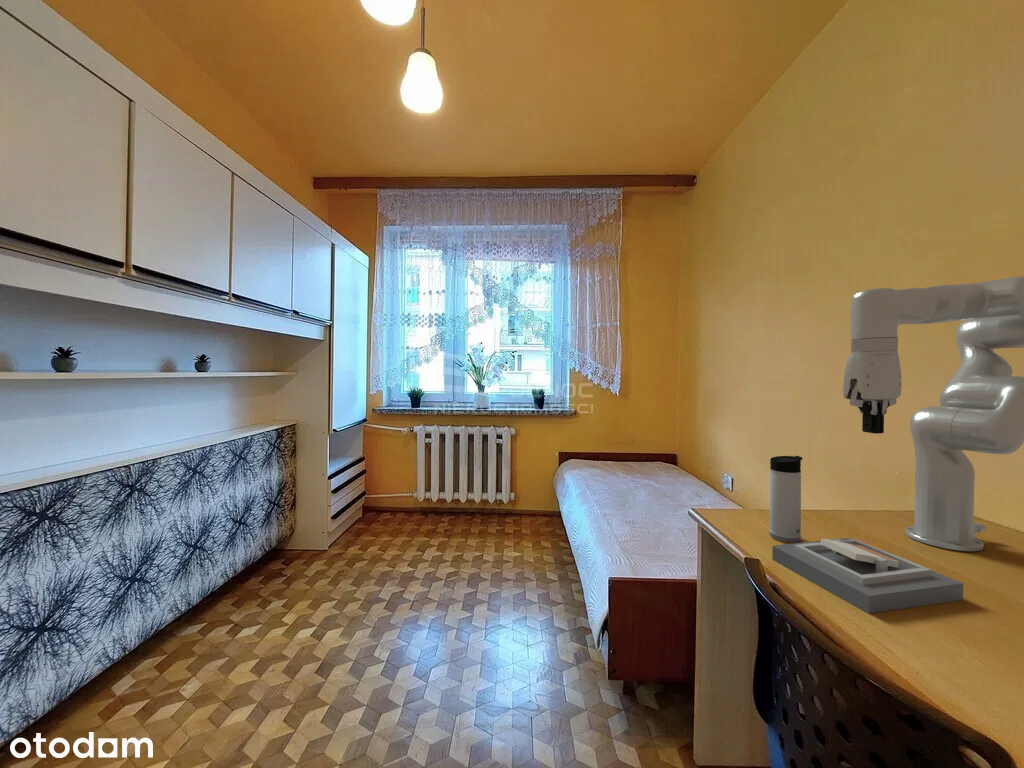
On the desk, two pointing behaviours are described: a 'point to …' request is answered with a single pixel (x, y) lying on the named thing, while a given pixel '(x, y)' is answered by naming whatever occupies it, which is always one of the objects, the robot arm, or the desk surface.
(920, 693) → the desk surface
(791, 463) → the travel mug
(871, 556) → the rocker switch
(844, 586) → the switch plate
